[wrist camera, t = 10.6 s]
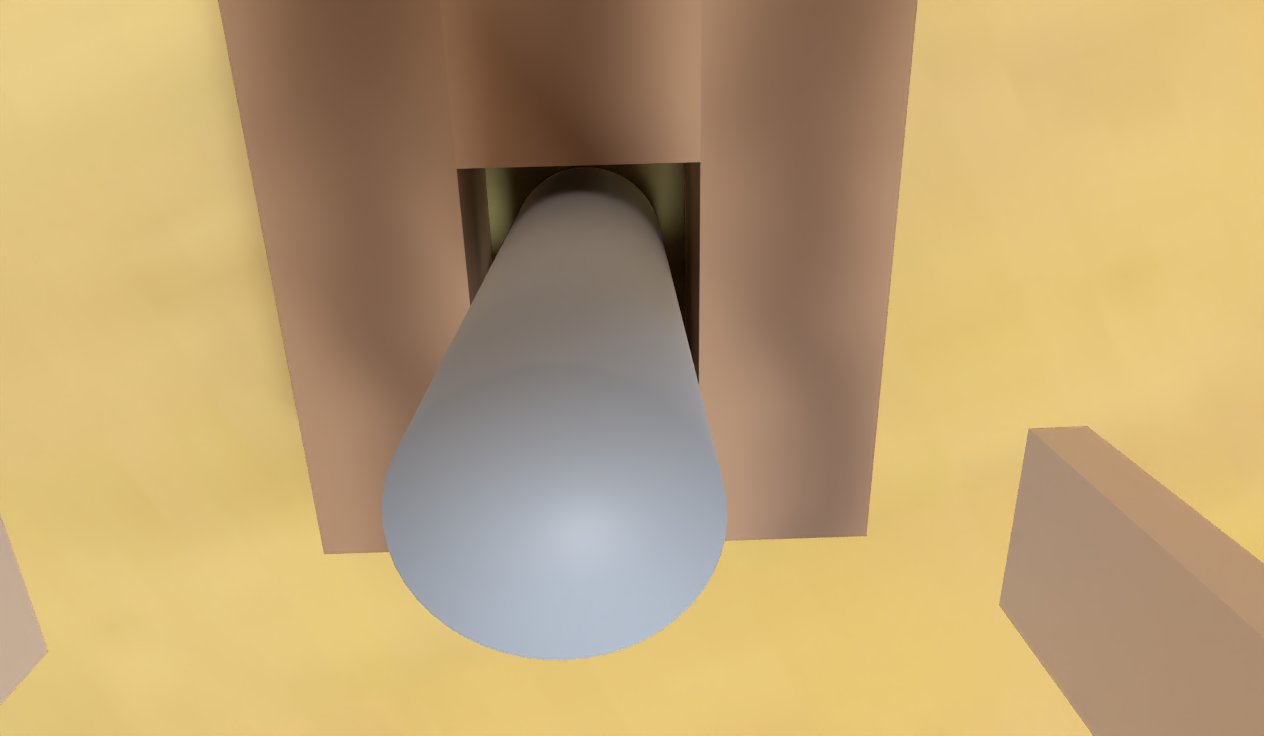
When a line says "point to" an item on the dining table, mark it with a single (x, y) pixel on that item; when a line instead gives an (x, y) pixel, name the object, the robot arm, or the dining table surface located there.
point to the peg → (562, 441)
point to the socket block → (570, 136)
